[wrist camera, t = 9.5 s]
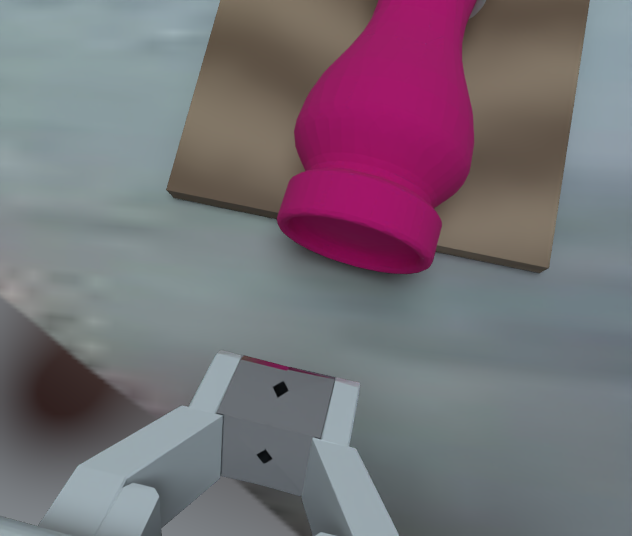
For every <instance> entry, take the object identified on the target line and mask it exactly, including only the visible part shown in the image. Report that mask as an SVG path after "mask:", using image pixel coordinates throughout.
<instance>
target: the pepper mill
mask: <svg viewBox="0 0 632 536" xmlns="http://www.w3.org/2000/svg"><path fill="white" fill-rule="evenodd" d="M485 1H486V0H378V3H377V6H376V8H375V11H374V13H373V16H372V18H371V20H370V21H369V23H368V25H367V26H366V28H365V29H364V31H363V32H362V33H361V34H360V35H359V37H358V38H357V39H356V40H355V41H354V42H353V43H352V44H351V46H350V47H349V48H348V49H347V50H346V51H345V52H344V53H343V54H342V55H341V56H340V57H339V58H338V59H337V60H336V61H335V62H334V63H333V64H332V65H331V66H330V67H329V68H328V69H327V70H326V71H325V72H324V73H323V74H322V75H321V77H320V78H319V80H318V81H317V82H316V84H315V85H314V86H313V88H312V89H311V91H310V92H309V94H308V96H307V97H306V100H305V102H304V104H303V106H302V109H301V111H300V113H299V115H298V117H297V120H296V124H295V129H294V137H295V147H296V150H297V153H298V155H299V158H300V160H301V162H302V165H303V167H304V169H305V172H301V173H299V174H297V175H295V176H293V177H292V178H291V179H290V181H289V183H288V186H287V189H286V192H285V195H284V198H283V201H282V204H281V207H280V210H279V213H278V216H277V223H278V225H279V227H280V229H281V231H282V232H283V233H284V234H285V235H287V236H288V237H289V238H291V239H292V240H293V241H295V242H296V243H298V244H300V245H301V246H303V247H305V248H307V249H309V250H311V251H313V252H315V253H318V254H320V255H322V256H325V257H327V258H330V259H333V260H336V261H339V262H342V263H346V264H349V265H352V266H356V267H359V268H364V269H368V270H373V271H378V272H385V273H394V274H411V273H419V272H421V271H423V270H426V269H428V268H429V267H430V266H431V264H432V262H433V259H434V255H435V251H436V247H437V243H438V239H439V236H440V232H441V228H442V221H441V218H440V217H439V215H438V213H437V212H436V211H435V209H434V208H435V207H437V206H438V205H440V204H441V203H443V202H444V201H446V200H447V199H449V198H450V197H451V196H453V195H454V194H455V193H456V192H457V191H458V190H459V189H460V188H461V187H462V185H463V184H464V182H465V180H466V178H467V176H468V174H469V172H470V167H471V161H472V155H473V149H474V123H473V111H472V106H471V102H470V97H469V93H468V88H467V84H466V79H465V75H464V69H463V62H462V42H463V37H464V33H465V28H466V24H467V22H468V20H469V19H470V18H472V17H473V16H474V15H476V14H477V13H478V12H479V11H480V9H481V8H482V7H483V5H484V3H485Z"/></svg>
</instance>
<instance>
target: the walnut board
mask: <svg viewBox="0 0 632 536" xmlns="http://www.w3.org/2000/svg"><path fill="white" fill-rule="evenodd" d="M589 2H590V0H486V1H485V3H484V5H483V7H482V8H481V9H480V11H479V12H478V13H477V14H476V15H474V16H473V17H472V18H470V19H469V20H468V22H467V24H466V28H465V33H464V37H463V42H462V62H463V69H464V75H465V79H466V84H467V88H468V93H469V97H470V102H471V106H472V111H473V123H474V149H473V155H472V161H471V167H470V172H469V174H468V176H467V178H466V180H465V182H464V184H463V185H462V187H461V188H460V189H459V190H458V191H457V192H456V193H455V194H454V195H453V196H451V197H450V198H449V199H447V200H446V201H444V202H443V203H441V204H440V205H438V206H437V207H435V208H434V209H435V211H436V212H437V213H438V215H439V217H440V218H441V221H442V228H441V232H440V236H439V239H438V243H437V247H436V251H435V252H440V253H445V254H450V255H455V256H460V257H464V258H469V259H474V260H479V261H484V262H489V263H494V264H498V265H503V266H508V267H513V268H518V269H523V270H528V271H533V272H537V273H541V272H542V271H544V270H546V269H548V268H549V264H550V257H551V251H552V244H553V237H554V231H555V224H556V218H557V211H558V205H559V198H560V192H561V185H562V179H563V172H564V165H565V159H566V152H567V146H568V139H569V133H570V126H571V120H572V113H573V106H574V100H575V93H576V87H577V80H578V74H579V67H580V61H581V54H582V48H583V41H584V34H585V28H586V21H587V15H588V8H589ZM377 3H378V0H220V3H219V7H218V10H217V14H216V17H215V21H214V24H213V28H212V31H211V35H210V38H209V42H208V45H207V49H206V52H205V56H204V59H203V63H202V66H201V70H200V73H199V77H198V80H197V84H196V87H195V91H194V94H193V98H192V101H191V105H190V108H189V112H188V115H187V119H186V122H185V126H184V129H183V133H182V136H181V140H180V143H179V147H178V150H177V154H176V157H175V161H174V164H173V168H172V171H171V175H170V178H169V182H168V185H167V189H166V190H167V191H168V192H169V193H170V194H171V195H172V196H173V197H174V198H177V199H182V200H187V201H192V202H197V203H202V204H207V205H211V206H216V207H221V208H226V209H231V210H236V211H241V212H245V213H250V214H255V215H260V216H265V217H270V218H275V219H277V216H278V213H279V210H280V207H281V204H282V201H283V198H284V195H285V192H286V189H287V186H288V183H289V181H290V179H291V178H292V177H293V176H295V175H297V174H299V173H301V172H305V169H304V167H303V165H302V162H301V160H300V158H299V155H298V153H297V150H296V147H295V137H294V129H295V124H296V120H297V117H298V115H299V113H300V111H301V109H302V106H303V104H304V102H305V100H306V97H307V96H308V94H309V92H310V91H311V89H312V88H313V86H314V85H315V84H316V82H317V81H318V80H319V78H320V77H321V75H322V74H323V73H324V72H325V71H326V70H327V69H328V68H329V67H330V66H331V65H332V64H333V63H334V62H335V61H336V60H337V59H338V58H339V57H340V56H341V55H342V54H343V53H344V52H345V51H346V50H347V49H348V48H349V47H350V46H351V44H352V43H353V42H354V41H355V40H356V39H357V38H358V37H359V35H360V34H361V33H362V32H363V31H364V29H365V28H366V26H367V25H368V23H369V21H370V20H371V18H372V16H373V13H374V11H375V8H376V6H377Z"/></svg>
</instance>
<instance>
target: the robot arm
mask: <svg viewBox="0 0 632 536" xmlns="http://www.w3.org/2000/svg"><path fill="white" fill-rule="evenodd" d="M335 378H336V380H335ZM334 383H335V384H334ZM359 391H360V383H359V382H355V381H350V380H346V379H341V378H337V377H332V376H328V375H324V374H319V373H315V372H310V371H306V370H301V369H297V368H292V367H287V366H283V365H279V364H275V363H271V362H267V361H264V360H260V359H256V358H252V357H248V356H242V355H239V354H235V353H231V352H227V351H223V350H220V351H219V352H218V353H217V354H216V355H215V357H214V359H213V361H212V363H211V365H210V366H209V368H208V370H207V372H206V374H205V376H204V378H203V380H202V382H201V384H200V386H199V388H198V390H197V392H196V393H195V395H194V397H193V399H192V401H191V403H190V405H189V407H187V406H182V405H181V406H180V407H178V408H176V409H175V410H173V411H171V412H169V413H168V414H166V415H164V416H162V417H161V418H159V419H157V420H156V421H154V422H152V423H150V424H149V425H147V426H145V427H144V428H142V429H140V430H138V431H137V432H135V433H133V434H132V435H130V436H128V437H126V438H125V439H123V440H121V441H120V442H118V443H116V444H114V445H113V446H111V447H109V448H108V449H106V450H104V451H102V452H101V453H99V454H97V455H95V456H94V457H92V458H90V459H88V460H87V461H85V462H83V463H82V464H80V465H78V466H77V468H76V470H75V471H74V472H73V474H72V475H71V477H70V478H69V480H68V481H67V483H66V484H65V486H64V487H63V489H62V490H61V492H60V493H59V495H58V496H57V498H56V499H55V501H54V502H53V504H52V505H51V507H50V508H49V510H48V512H47V513H46V515H45V516H44V517H43V519H42V520H41V522H40V523H39V525H38V526H35V525H32V524H28V523H24V522H21V521H17V520H13V519H9V518H6V517H3V516H0V536H162V534H161V528H162V527H163V526H165V525H166V524H167V523H168V522H169V521H170V520H172V519H173V518H174V517H175V516H176V515H178V514H179V513H180V512H181V511H182V510H184V509H185V508H186V507H187V506H188V505H189V504H191V503H192V502H193V501H194V500H195V499H196V498H198V497H199V496H200V495H201V494H202V493H203V492H205V491H206V490H207V489H208V488H209V487H211V486H212V485H213V484H214V483H215V482H217V481H218V480H219V479H220V476H224V477H228V478H232V479H237V480H241V481H246V482H250V483H254V484H259V485H263V486H266V487H270V488H273V489H277V490H280V491H284V492H287V493H291V494H294V495H298V496H301V497H302V502H303V505H304V508H305V512H306V515H307V518H308V521H309V525H310V528H311V531H312V534H313V536H399V534H398V532H397V530H396V528H395V526H394V524H393V522H392V520H391V518H390V516H389V514H388V512H387V510H386V508H385V506H384V504H383V502H382V500H381V498H380V496H379V494H378V491H377V489H376V487H375V485H374V483H373V481H372V479H371V477H370V475H369V473H368V471H367V469H366V467H365V465H364V463H363V461H362V459H361V457H360V455H359V453H358V451H357V449H356V448H353V447H349V445H350V440H351V434H352V429H353V423H354V418H355V412H356V407H357V402H358V396H359Z"/></svg>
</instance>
